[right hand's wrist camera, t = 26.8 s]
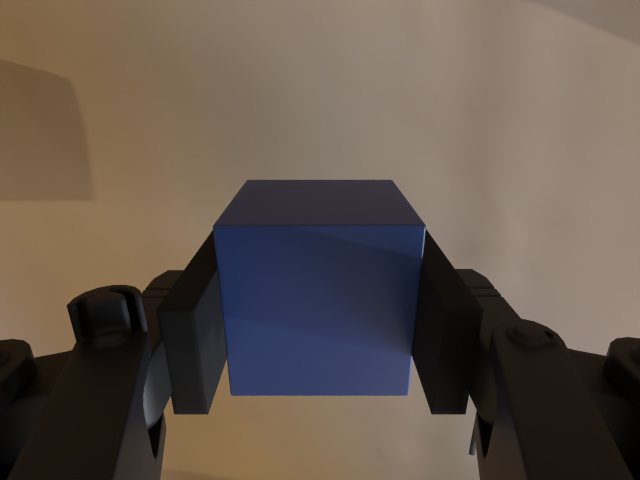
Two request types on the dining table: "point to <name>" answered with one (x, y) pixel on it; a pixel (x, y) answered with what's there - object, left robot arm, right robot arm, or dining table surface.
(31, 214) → the dining table surface
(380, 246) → the blue cube
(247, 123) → the dining table surface
